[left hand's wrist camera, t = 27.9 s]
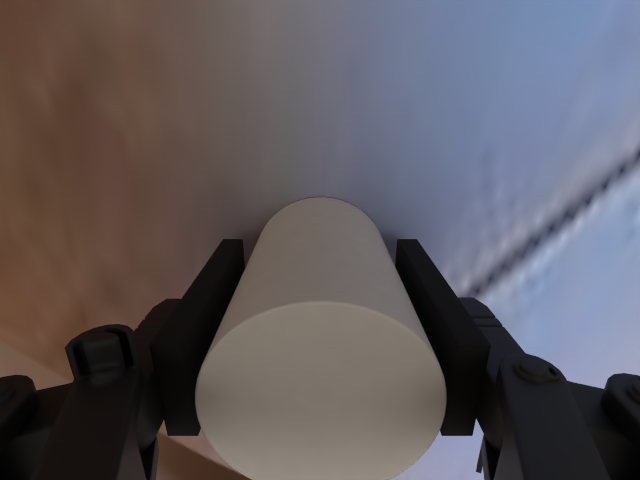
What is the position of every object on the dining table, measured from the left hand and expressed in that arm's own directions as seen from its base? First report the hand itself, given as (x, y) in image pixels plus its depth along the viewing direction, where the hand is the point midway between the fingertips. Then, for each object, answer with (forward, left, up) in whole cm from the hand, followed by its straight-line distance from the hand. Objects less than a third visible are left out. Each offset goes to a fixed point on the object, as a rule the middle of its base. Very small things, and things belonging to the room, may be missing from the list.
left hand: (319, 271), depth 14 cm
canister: (0, 0, -1) cm, 1 cm away
